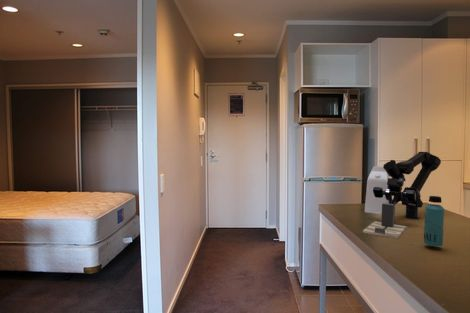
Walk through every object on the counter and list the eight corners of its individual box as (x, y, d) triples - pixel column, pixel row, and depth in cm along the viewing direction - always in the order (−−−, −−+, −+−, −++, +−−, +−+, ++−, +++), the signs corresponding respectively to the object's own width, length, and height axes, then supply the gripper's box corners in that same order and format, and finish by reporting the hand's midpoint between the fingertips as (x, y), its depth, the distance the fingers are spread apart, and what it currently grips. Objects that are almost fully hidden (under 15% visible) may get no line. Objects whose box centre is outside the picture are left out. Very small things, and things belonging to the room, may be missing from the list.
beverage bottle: (440, 246, 126) (442, 195, 125) (445, 251, 120) (447, 198, 118) (421, 244, 128) (423, 194, 127) (425, 249, 122) (427, 197, 121)
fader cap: (383, 223, 154) (383, 202, 153) (394, 225, 151) (395, 204, 150) (381, 225, 151) (382, 203, 150) (392, 227, 148) (393, 205, 147)
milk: (390, 211, 187) (392, 166, 186) (387, 214, 178) (389, 167, 176) (368, 208, 194) (369, 165, 192) (364, 212, 184) (366, 166, 183)
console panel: (374, 223, 159) (374, 217, 159) (406, 228, 151) (406, 222, 150) (362, 232, 143) (362, 225, 143) (397, 238, 135) (397, 231, 135)
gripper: (374, 170, 164) (367, 195, 156) (416, 173, 153) (410, 200, 145) (378, 184, 171) (371, 208, 163) (418, 188, 160) (413, 214, 151)
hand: (390, 207), depth 155 cm, fingers closed
